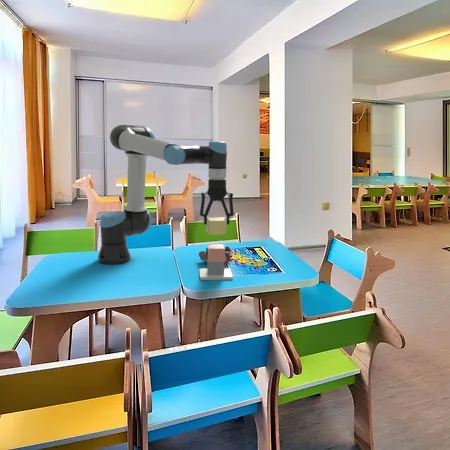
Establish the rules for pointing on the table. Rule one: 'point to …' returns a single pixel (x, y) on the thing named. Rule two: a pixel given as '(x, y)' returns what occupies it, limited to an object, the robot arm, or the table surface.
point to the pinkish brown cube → (216, 253)
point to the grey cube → (215, 268)
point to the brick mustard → (217, 226)
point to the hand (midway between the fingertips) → (216, 231)
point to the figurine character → (204, 255)
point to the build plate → (205, 275)
